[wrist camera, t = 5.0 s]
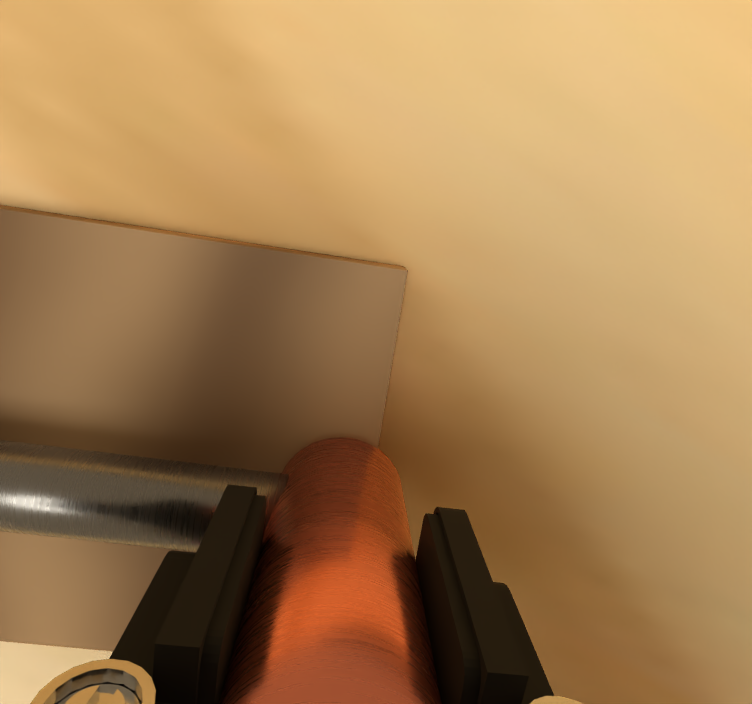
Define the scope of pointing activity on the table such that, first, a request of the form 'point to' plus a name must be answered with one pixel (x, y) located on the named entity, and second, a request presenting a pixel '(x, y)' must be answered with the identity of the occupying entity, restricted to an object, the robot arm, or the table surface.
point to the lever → (263, 559)
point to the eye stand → (170, 380)
